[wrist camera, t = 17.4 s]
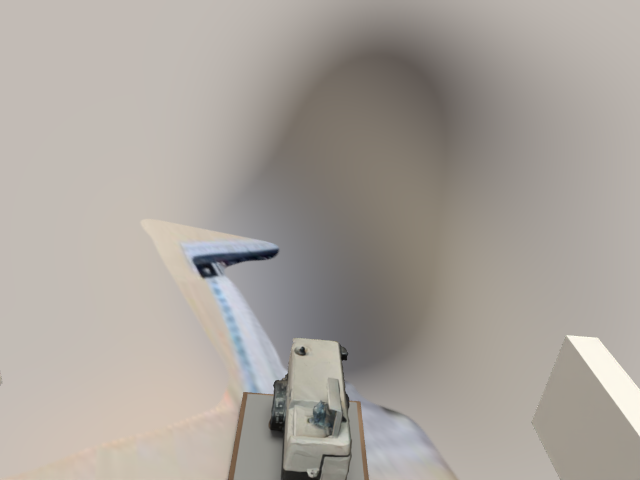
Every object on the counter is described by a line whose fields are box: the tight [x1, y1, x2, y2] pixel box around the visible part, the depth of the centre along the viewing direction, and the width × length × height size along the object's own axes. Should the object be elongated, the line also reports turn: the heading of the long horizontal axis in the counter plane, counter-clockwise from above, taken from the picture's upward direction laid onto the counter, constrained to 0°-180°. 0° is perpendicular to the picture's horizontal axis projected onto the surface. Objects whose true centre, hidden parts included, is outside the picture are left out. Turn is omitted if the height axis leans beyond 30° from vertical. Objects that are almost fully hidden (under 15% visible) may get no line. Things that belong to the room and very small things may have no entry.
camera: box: [269, 338, 352, 480], centre depth 49 cm, size 15×8×10 cm, turn 179°
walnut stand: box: [228, 392, 369, 480], centre depth 52 cm, size 13×13×2 cm
